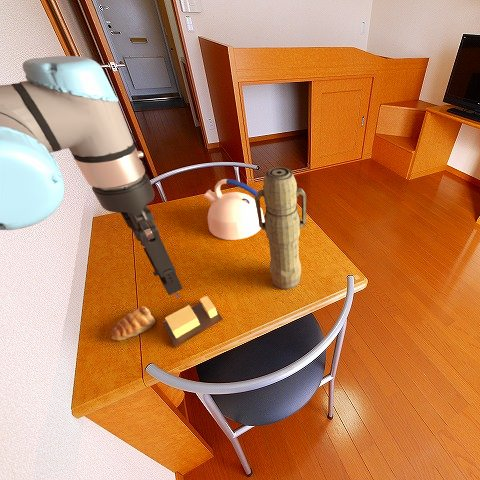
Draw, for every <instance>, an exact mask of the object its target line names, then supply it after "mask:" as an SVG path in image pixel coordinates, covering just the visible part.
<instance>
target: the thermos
mask: <svg viewBox="0 0 480 480" xmlns="http://www.w3.org/2000/svg"><path fill="white" fill-rule="evenodd" d="M297 184H298V183H297V180H296V178H295V176H294V173H293V171H292V170H291V169H289V168H286V167H283V166H276V167H272V168H270V169H268V170H267V171H266V172H265V174H264V178H263V185H262V189H259V190H258V191H257V192H258V193H257V194H256V196H254V199H255V204H256V209H257V215H258V220H259V227H260V228H261V229H260V230H263V231H264V232H265V235H266V238H267V239H268V246H269V255H270V261H269V272H270V277H271V283H272V284H273V286H274V287H276V288H277V289H280V290H284V291H285V290H286V291H288V290H292V289H294V288H296V287H297V286H298V285H299V284H300V283H301V279H302V278H301V277H302V276H301V275H302V264H301V260H300V251H299V250H300V248H299V247H300V244H299V243H300V242H299V239H300V236H301V230H302V227H306V225H307V194H306V192H305V191H304V190H303V188H302V187H298V186H297ZM300 195H301V215H300V213H299V211H298V197H299V196H300ZM261 197H263V198H264V199H263V200H264V204H265V205H264V206H265V213H264V222H262V215H261V209H262V206H261V201H260V200H261Z"/></svg>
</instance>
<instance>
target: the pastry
mask: <svg viewBox="0 0 480 480" xmlns="http://www.w3.org/2000/svg"><path fill="white" fill-rule="evenodd" d="M155 324H156V319H155V317H154V316H153V315H152V313H151V311H150V309H149V308H147V307H146V306H140V307H139V308H136V309H134V310H132V311H131V312H128V313H127V314H126V315H125V316H123V317H122V318H121V320H120V321H118V322H117V323H116V324H115V325H114V326H113V328H111V329H110V332H109V333H110V338H111V340H113V341H115V342H116V341H117V342H120V341H124V340H128V339H130V338H134V337H137V336H138V335H140V334H142V333H145V332H146V331H147V330H150V329H151V328H152V327H153V326H154V325H155Z"/></svg>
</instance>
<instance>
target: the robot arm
mask: <svg viewBox="0 0 480 480" xmlns="http://www.w3.org/2000/svg"><path fill="white" fill-rule="evenodd" d="M22 70H23V72H24V74H25V76H24V77H25V79H26V80H23V81H19V82H15V83H11V84H10V83H9V84H0V231H15V230H20V229H26V228H29V227H33V226H34V225H37V224H40V223H41V222H43V221H45V220H47V219H48V218H50V217H51V216H52V215H53V214H54V213H56V211H57V210H58V209H59V207H60V206H61V204H62V203H63V200H64V197H65V192H66V186H65V181H64V178H63V173H62V172H61V170H60V166H59V163H58V161H57V159H56V158H55V156H54V154H53V153H55V152H59V151H62V150H67V149H68V150H69V151H70V153H71V156H72V157H73V160H74V162H75V163H76V165H77V167H78V168H79V171H80V173H81V174H82V176H83V177H84V179H85V180H86V182H87V184H88V185H89V186H90V187H91V190H92V192H93V194H94V195H95V198H96V199H97V201H98V203H99V204H100V206H101V207H102V208H103V209H104V211H107V212H111V213H120V215H121V217H122V218H123V220H124V222H125V224H126V225H127V227H128V228H129V229H131V231H132V233H133V235H134V237H135V239H136V240H137V241H138V242H140V246H142V247H143V248H142V249H143V251H144V253H145V255H146V257H147V258H148V260H149V262H150V264H151V266H152V268H153V270H154V271H153V272H152V274H153V276H154V277H159V279H160V281H161V283H162V286H163V287H164V290H165V291H166V293H167V295H168V296H171V295H172V294H174V293H175V292H177V293H178V292H179V291H181V290H183V289H184V288H183V285H182V283H181V281H180V279H179V277H178V275H177V273H176V271H177V269H176V266H174V264H173V262H172V260H171V258H170V256H169V253H168V251H167V249H166V247H165V244H164V242H163V240H162V238H161V236H160V230H159V228H158V227H157V224H156V222H155V217H154V215H153V213H152V210H151V209H149V208H148V205H149V204H150V203H152V201H154V199H155V196H156V192H155V190H154V187H153V185H152V182H151V179H150V177H149V175H148V174H147V173H146V169H145V165H144V163H143V161H142V160H141V159H142V158H144V156H145V155H144V154H145V153H144V152H143V151H141V150H138V149H137V147H136V144H135V142H134V139H133V137H132V135H131V133H130V129H129V127H128V124H127V122H126V119H125V116H124V114H123V112H122V110H121V109H122V108H121V106H120V103H119V99H118V97H117V96H116V94H115V92H114V89H113V88H112V86H111V84H110V81H109V80H108V77H107V75H106V73H105V71H104V69H103V67H102V66H101V65H100V64H99V63H98V62H97V61H96V60H93V59H91V58H88V57H86V56H79V55H78V56H77V55H58V56H57V55H55V56H45V57H35V58H30V59H26V60H25V61H23V63H22Z"/></svg>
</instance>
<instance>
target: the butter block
mask: <svg viewBox="0 0 480 480" xmlns="http://www.w3.org/2000/svg"><path fill="white" fill-rule="evenodd" d="M191 307H192V306H191V305H190V304H187V305H186V306H184V307H182V308H180V309H179V310H176V311H174V312H173V313H171V314H169V315H167V316H166V317H165V318H164V319H165V321H167V323H168V324H169V326H170V328H171V330H172V332H173V334H174V336H175V337H176V338H178V337H180V336H181V335H183V334H185V333H186V332H188V331H190V330H192V329H193V328H195V327H197V326H198V325H200V323H199V321H198V319H197V317H196V315H195V314H194V312H193V310H192V309H191Z"/></svg>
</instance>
